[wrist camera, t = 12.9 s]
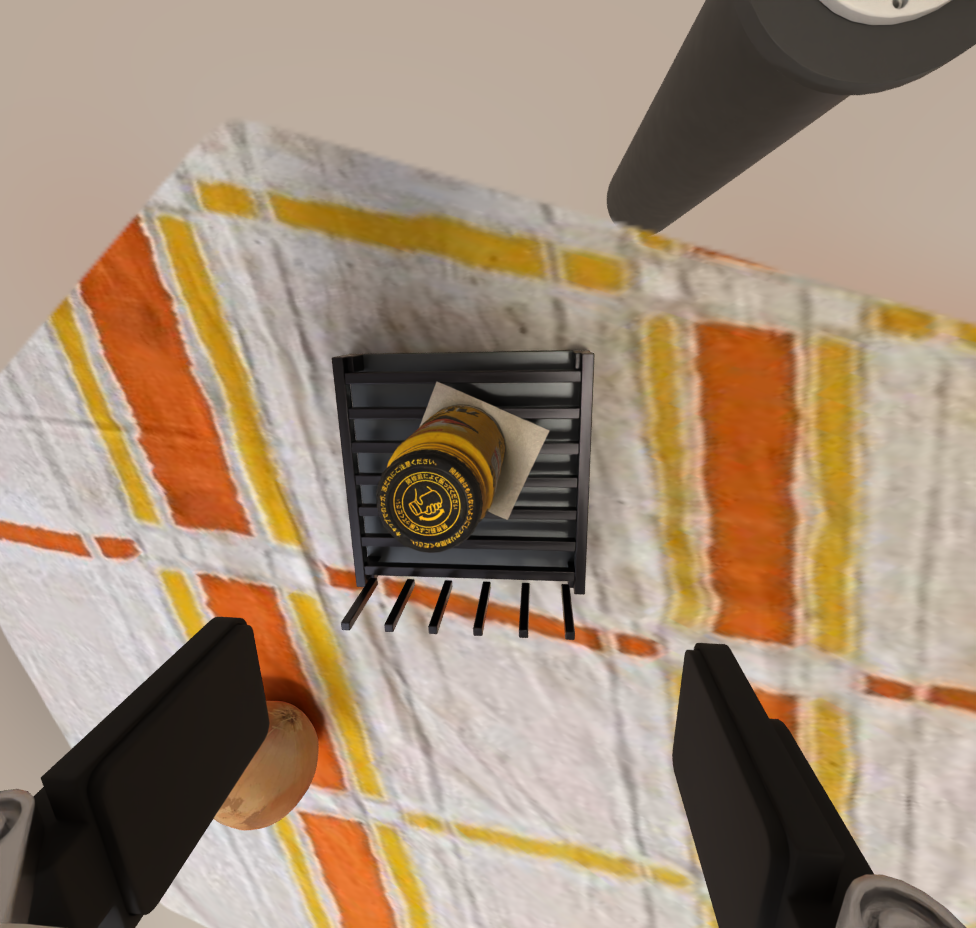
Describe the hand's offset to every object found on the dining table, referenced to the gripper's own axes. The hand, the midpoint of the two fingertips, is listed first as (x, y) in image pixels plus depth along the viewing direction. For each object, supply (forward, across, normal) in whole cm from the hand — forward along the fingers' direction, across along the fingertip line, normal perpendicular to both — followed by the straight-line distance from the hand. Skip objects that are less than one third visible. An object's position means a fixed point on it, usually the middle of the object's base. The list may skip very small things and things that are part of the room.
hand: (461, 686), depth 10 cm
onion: (+28, +23, +30) cm, 47 cm away
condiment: (+25, +3, +2) cm, 25 cm away
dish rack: (+28, +4, +4) cm, 29 cm away
